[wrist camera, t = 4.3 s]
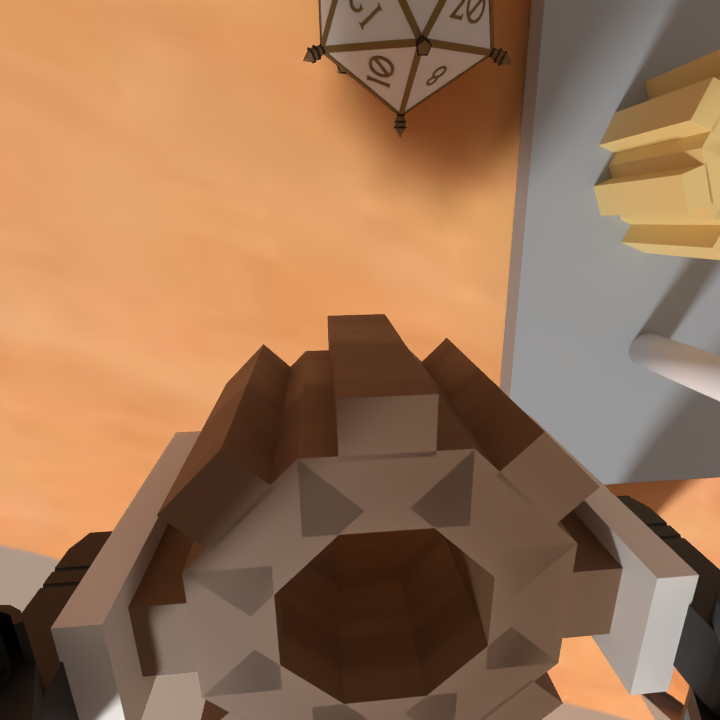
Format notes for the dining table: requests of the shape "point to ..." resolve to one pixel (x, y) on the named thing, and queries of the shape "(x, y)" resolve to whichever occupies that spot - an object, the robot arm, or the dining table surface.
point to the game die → (406, 45)
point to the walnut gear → (372, 543)
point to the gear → (669, 164)
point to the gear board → (607, 256)
